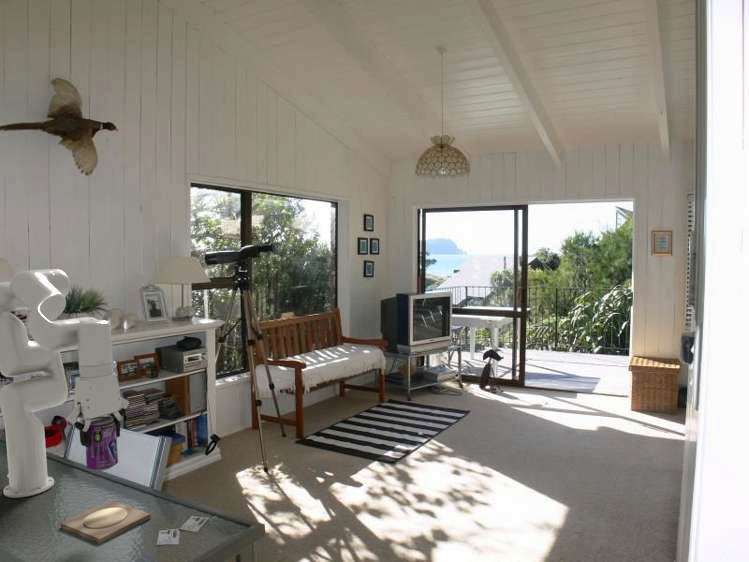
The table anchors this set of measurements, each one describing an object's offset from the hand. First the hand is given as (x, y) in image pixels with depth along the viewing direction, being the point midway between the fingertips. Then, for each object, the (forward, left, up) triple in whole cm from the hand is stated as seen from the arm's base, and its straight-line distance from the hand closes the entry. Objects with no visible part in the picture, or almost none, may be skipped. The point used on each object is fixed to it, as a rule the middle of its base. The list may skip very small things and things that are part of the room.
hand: (101, 440), depth 145 cm
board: (0, 0, -21) cm, 21 cm away
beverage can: (0, 0, -7) cm, 7 cm away
